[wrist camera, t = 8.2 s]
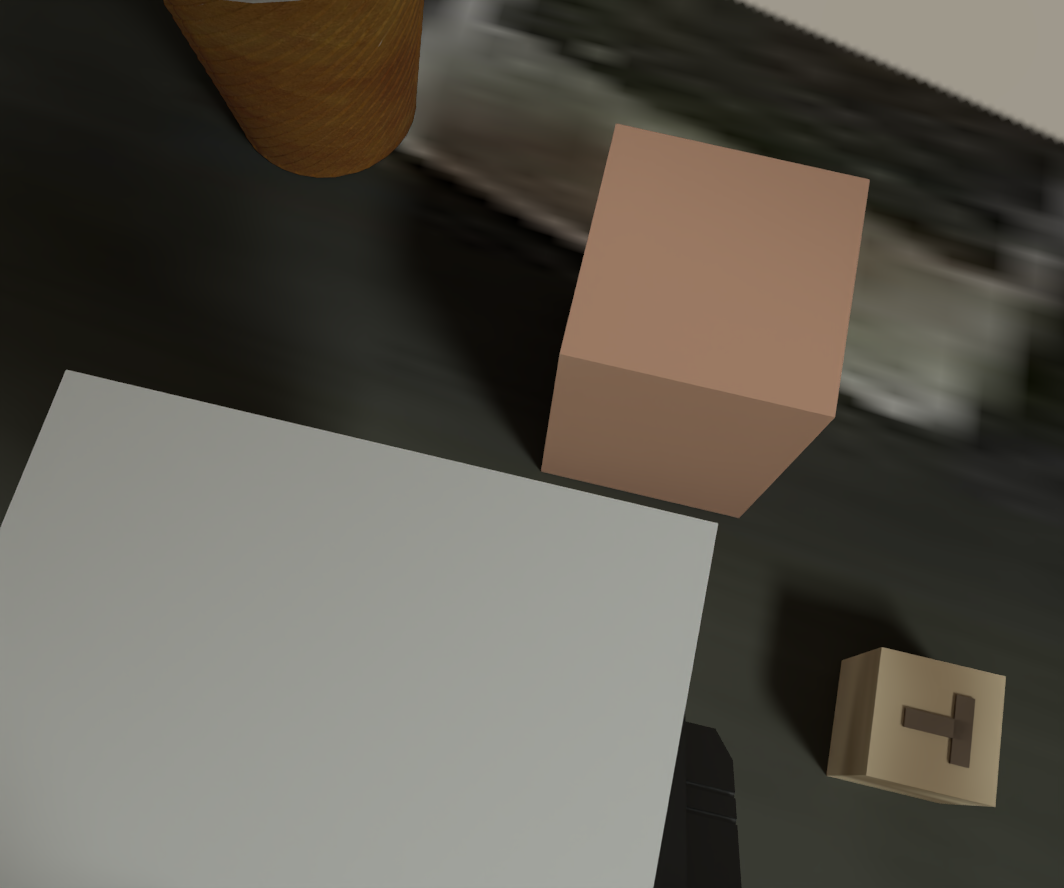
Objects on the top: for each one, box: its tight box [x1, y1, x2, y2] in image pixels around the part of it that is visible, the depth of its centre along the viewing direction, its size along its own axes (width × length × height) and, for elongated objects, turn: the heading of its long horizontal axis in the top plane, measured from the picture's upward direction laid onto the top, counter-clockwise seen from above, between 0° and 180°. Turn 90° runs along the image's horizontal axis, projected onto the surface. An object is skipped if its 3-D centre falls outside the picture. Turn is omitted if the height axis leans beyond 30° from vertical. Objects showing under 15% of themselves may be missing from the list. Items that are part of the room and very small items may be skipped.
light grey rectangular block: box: [0, 370, 718, 888], centre depth 13 cm, size 6×6×9 cm
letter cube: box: [826, 647, 1006, 807], centre depth 28 cm, size 3×3×4 cm
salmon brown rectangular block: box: [541, 124, 870, 518], centre depth 29 cm, size 6×6×9 cm
